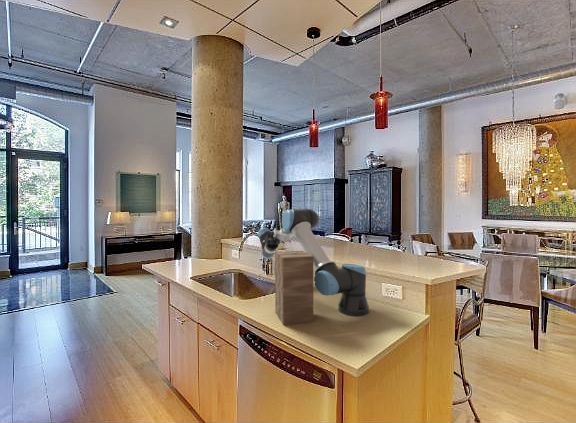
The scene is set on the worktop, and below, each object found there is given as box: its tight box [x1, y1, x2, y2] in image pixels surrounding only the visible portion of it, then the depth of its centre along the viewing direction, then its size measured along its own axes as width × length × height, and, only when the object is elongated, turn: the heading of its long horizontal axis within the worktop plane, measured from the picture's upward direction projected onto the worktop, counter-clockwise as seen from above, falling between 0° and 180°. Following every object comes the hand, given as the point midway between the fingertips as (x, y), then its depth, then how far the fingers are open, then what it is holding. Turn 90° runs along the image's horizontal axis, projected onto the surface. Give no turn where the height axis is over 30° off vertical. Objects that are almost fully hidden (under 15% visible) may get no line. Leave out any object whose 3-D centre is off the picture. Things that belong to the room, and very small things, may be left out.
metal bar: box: [275, 230, 290, 243], centre depth 174 cm, size 26×3×3 cm, turn 15°
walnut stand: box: [274, 250, 314, 326], centre depth 150 cm, size 16×14×30 cm
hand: (279, 230), depth 177 cm, fingers closed on metal bar, 3 cm apart
